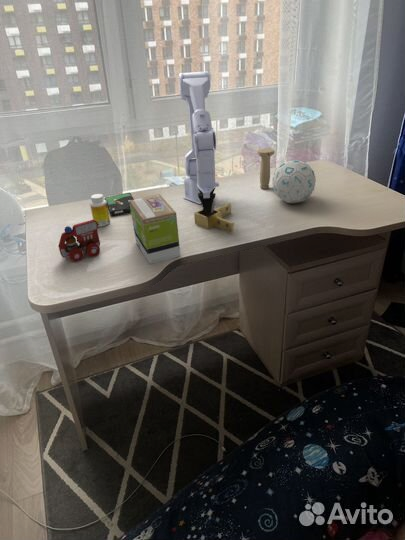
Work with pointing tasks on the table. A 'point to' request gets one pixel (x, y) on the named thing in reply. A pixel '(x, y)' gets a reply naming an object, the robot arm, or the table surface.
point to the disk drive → (119, 204)
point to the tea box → (155, 228)
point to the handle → (265, 166)
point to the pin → (211, 211)
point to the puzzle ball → (294, 181)
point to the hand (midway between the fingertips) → (207, 210)
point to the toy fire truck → (80, 241)
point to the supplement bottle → (99, 210)
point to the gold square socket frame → (215, 219)
